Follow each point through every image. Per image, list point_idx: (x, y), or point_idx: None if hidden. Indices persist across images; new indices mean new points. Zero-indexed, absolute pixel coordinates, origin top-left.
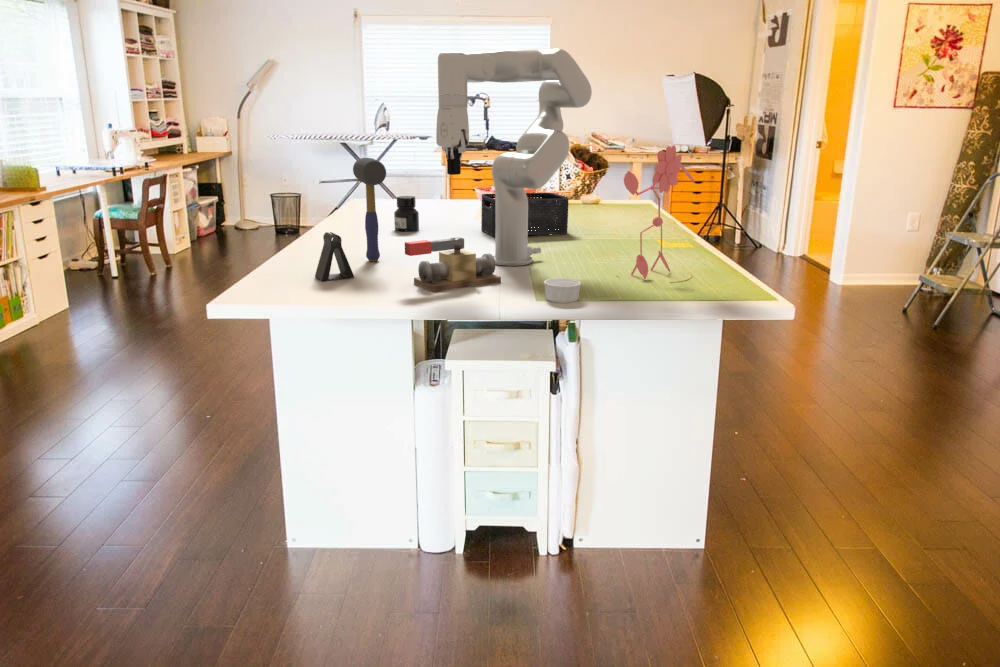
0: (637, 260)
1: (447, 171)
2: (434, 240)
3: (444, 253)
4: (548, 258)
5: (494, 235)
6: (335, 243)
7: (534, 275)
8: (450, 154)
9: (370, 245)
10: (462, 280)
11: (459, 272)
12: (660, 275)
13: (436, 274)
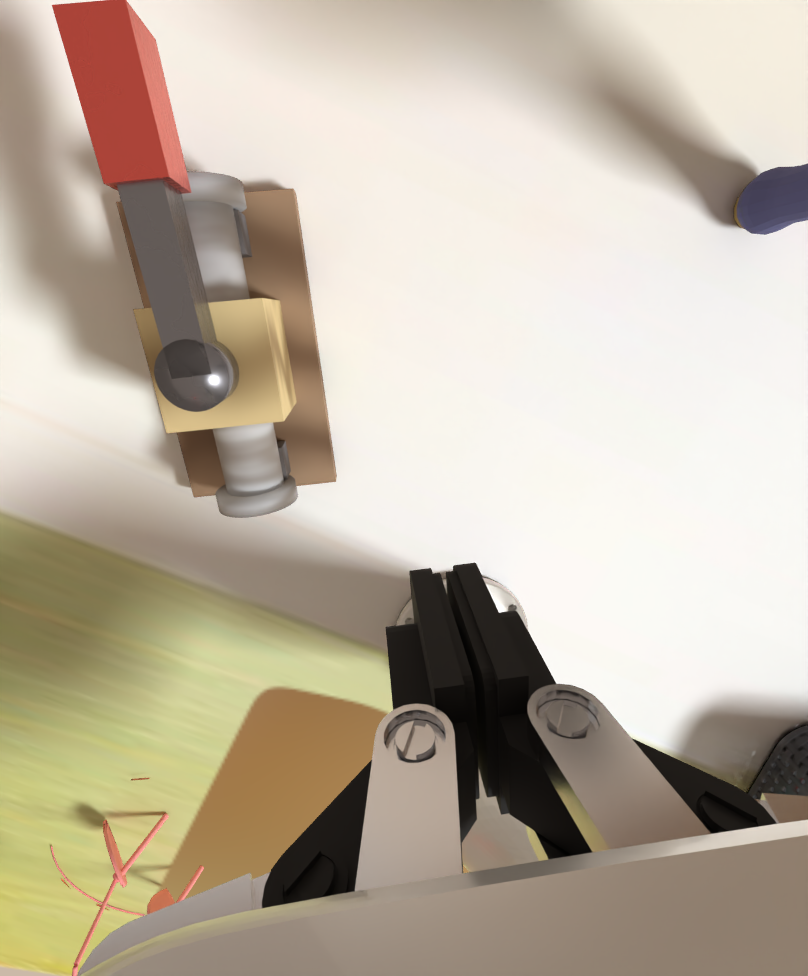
0: (111, 860)
1: (473, 573)
2: (178, 238)
3: (219, 307)
4: None
5: (804, 727)
6: None
7: (258, 615)
8: (557, 787)
9: (798, 171)
10: None
11: None
12: (142, 860)
13: None
